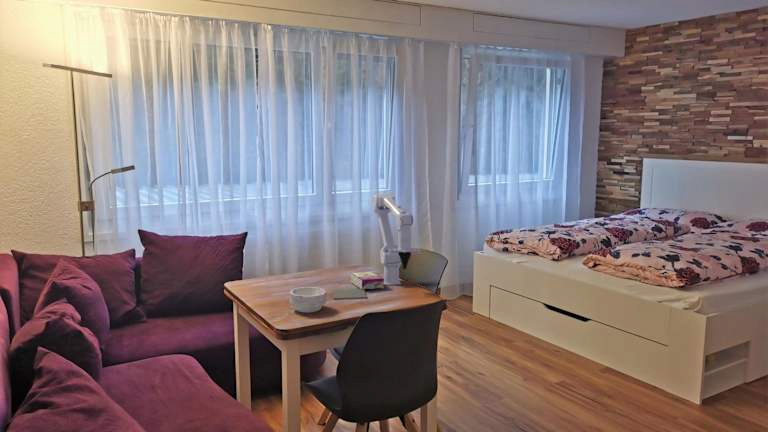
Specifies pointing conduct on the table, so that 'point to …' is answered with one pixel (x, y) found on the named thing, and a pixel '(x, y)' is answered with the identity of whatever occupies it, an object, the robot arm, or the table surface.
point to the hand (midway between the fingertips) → (404, 268)
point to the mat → (349, 294)
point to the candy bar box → (367, 280)
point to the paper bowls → (308, 298)
